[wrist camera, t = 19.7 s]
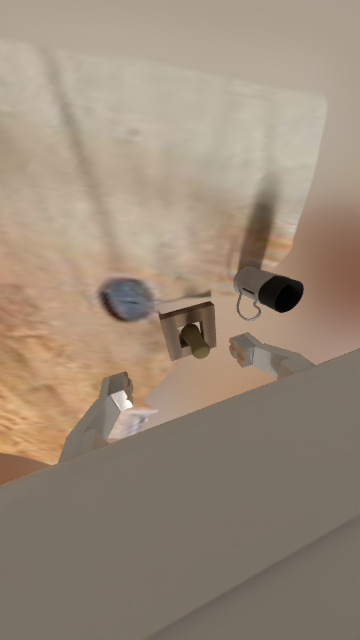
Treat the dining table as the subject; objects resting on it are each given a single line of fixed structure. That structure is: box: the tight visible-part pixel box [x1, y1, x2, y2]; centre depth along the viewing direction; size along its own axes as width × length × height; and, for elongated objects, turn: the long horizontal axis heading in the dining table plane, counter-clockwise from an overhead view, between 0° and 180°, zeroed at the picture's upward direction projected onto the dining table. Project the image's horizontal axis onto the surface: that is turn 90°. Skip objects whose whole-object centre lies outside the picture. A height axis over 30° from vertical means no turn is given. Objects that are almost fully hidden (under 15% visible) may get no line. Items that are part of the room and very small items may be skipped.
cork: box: [181, 324, 210, 359], centre depth 45 cm, size 6×6×11 cm
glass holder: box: [234, 266, 304, 321], centre depth 41 cm, size 9×14×15 cm, turn 129°
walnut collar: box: [159, 301, 216, 361], centre depth 48 cm, size 16×16×3 cm
